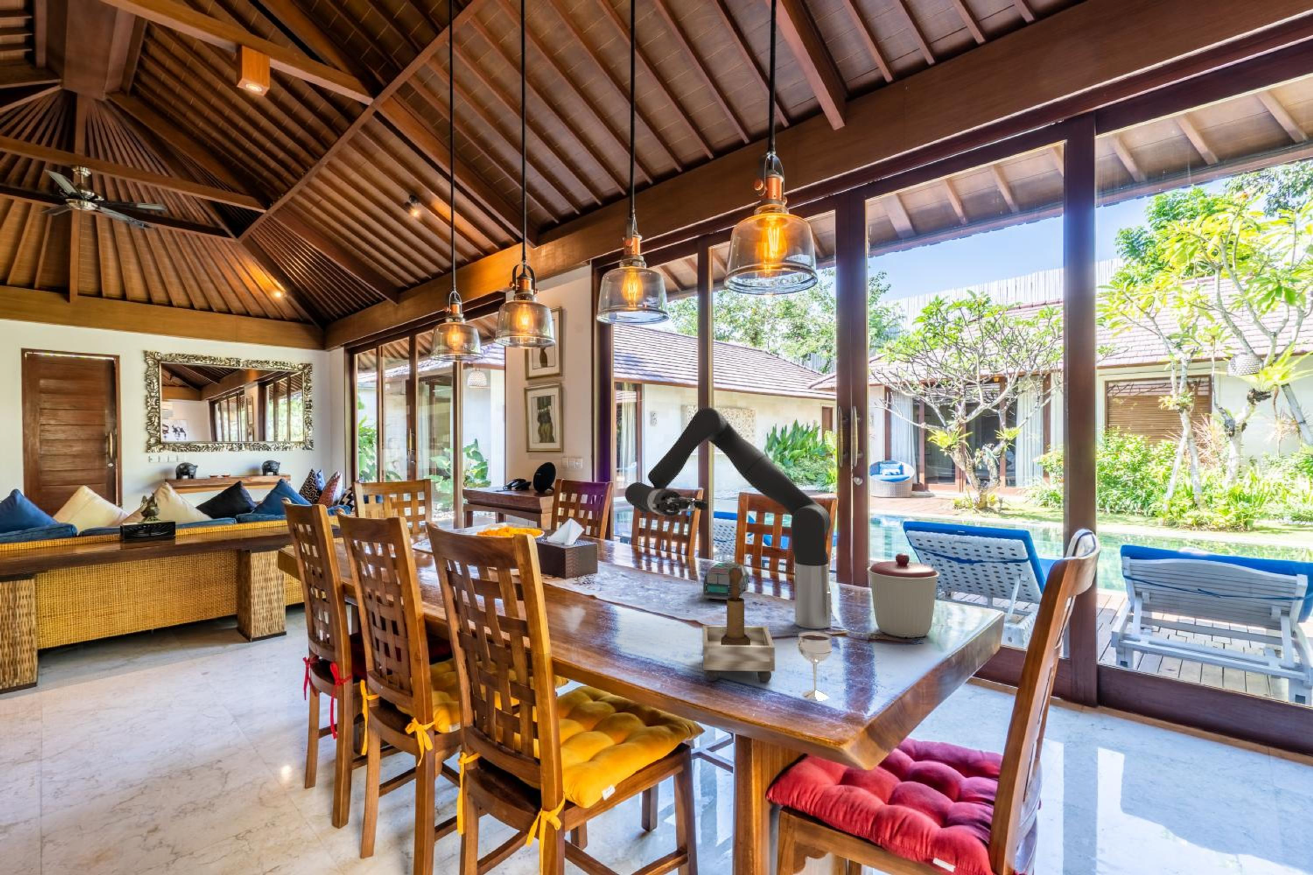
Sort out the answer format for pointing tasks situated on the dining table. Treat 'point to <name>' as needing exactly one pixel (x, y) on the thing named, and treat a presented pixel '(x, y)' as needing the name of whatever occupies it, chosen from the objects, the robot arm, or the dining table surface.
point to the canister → (903, 596)
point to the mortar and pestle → (735, 613)
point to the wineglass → (815, 655)
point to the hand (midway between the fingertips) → (692, 507)
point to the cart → (738, 652)
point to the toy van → (722, 581)
